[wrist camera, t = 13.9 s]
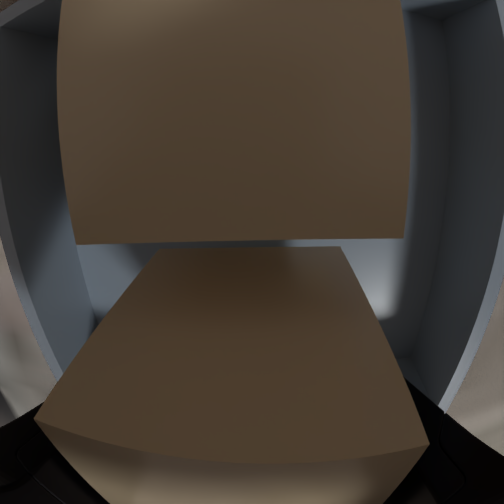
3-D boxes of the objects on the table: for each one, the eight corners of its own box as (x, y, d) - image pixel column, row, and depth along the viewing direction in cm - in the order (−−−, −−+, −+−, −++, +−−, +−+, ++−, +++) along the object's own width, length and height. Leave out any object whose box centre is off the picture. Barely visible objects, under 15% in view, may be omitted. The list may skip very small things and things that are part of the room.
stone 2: (324, 378, 9) (345, 540, 4) (185, 376, 9) (140, 528, 4) (340, 246, 7) (430, 444, 2) (159, 248, 8) (33, 418, 3)
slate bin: (415, 360, 12) (442, 417, 9) (105, 358, 13) (74, 411, 10) (448, 13, 6) (504, -13, 3) (53, 33, 7) (-9, 18, 4)
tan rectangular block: (329, 174, 9) (403, 238, 4) (177, 178, 9) (76, 245, 4) (323, 28, 7) (382, -71, 2) (170, 37, 7) (67, -35, 2)
